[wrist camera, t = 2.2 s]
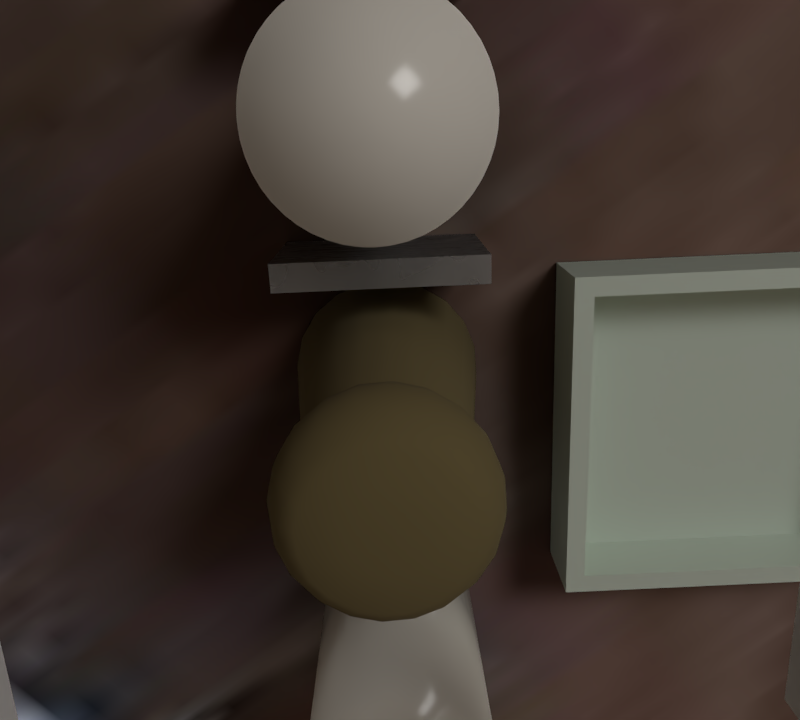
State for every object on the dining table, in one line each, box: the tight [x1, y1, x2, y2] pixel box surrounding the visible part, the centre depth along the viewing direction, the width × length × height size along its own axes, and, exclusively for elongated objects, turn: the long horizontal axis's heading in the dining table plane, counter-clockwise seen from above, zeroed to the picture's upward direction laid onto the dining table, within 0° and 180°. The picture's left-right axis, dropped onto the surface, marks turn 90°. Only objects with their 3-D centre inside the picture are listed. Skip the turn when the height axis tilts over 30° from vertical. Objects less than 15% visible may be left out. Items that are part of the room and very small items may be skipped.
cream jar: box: [236, 0, 499, 247], centre depth 18 cm, size 5×5×9 cm
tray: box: [550, 252, 800, 592], centre depth 25 cm, size 11×11×2 cm
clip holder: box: [268, 234, 491, 293], centre depth 23 cm, size 25×6×4 cm, turn 2°
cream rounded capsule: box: [310, 589, 492, 720], centre depth 23 cm, size 5×5×9 cm
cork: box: [266, 287, 507, 622], centre depth 20 cm, size 6×6×11 cm
